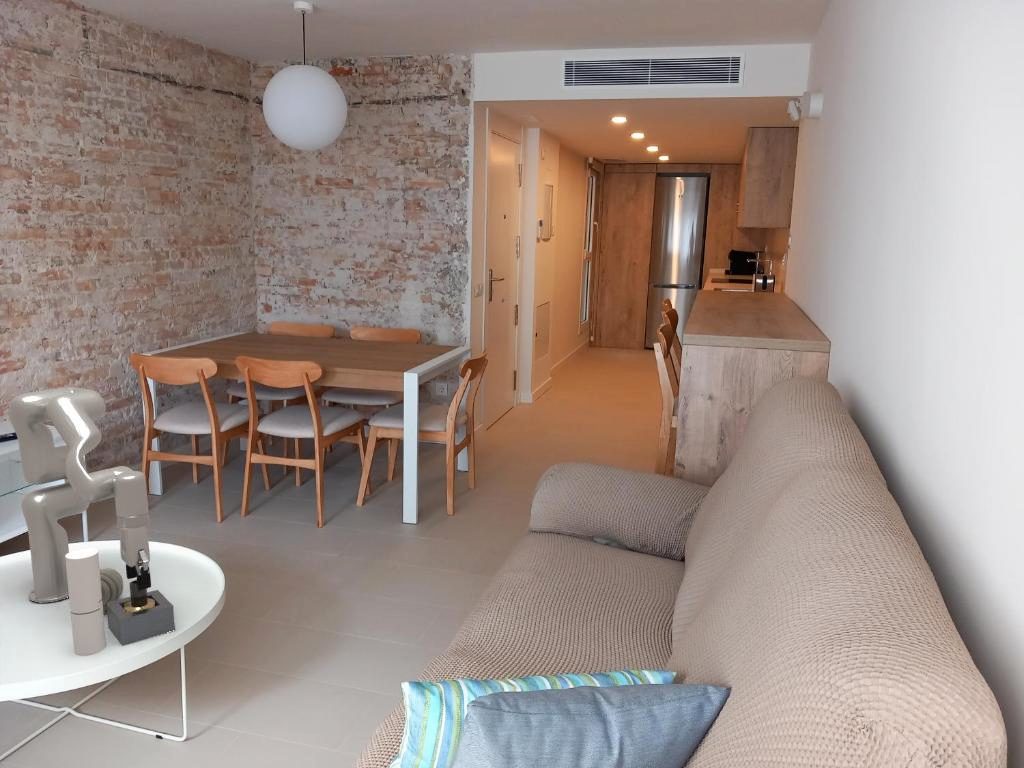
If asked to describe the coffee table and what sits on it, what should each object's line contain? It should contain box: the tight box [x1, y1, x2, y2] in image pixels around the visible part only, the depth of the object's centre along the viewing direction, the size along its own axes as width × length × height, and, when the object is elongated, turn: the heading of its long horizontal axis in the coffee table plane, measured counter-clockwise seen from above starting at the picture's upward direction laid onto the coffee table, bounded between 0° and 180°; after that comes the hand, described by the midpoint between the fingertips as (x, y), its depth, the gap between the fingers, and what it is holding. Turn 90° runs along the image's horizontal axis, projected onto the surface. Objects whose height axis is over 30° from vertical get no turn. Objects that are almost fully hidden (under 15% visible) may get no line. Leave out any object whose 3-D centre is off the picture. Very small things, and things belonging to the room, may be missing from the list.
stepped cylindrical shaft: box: [124, 579, 155, 614], centre depth 215 cm, size 7×7×12 cm
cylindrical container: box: [65, 547, 107, 656], centre depth 204 cm, size 7×7×25 cm
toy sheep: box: [100, 567, 124, 616], centre depth 228 cm, size 11×17×11 cm, turn 4°
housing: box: [106, 589, 176, 647], centre depth 216 cm, size 13×13×7 cm
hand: (138, 582), depth 214 cm, fingers open, 9 cm apart
